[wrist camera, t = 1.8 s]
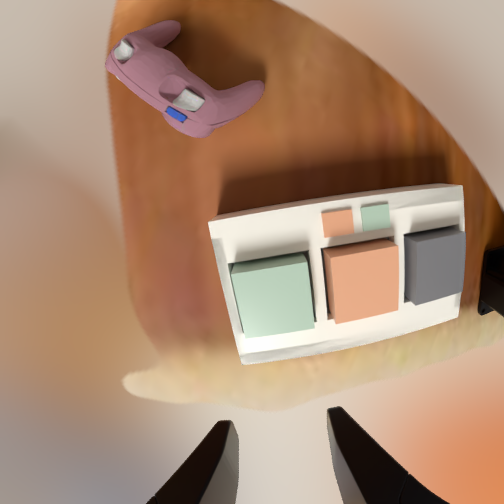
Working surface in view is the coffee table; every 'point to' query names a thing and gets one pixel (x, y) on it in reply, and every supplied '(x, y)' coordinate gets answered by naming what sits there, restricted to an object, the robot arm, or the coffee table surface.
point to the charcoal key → (433, 264)
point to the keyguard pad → (311, 244)
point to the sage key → (273, 295)
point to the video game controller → (176, 82)
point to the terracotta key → (362, 279)
